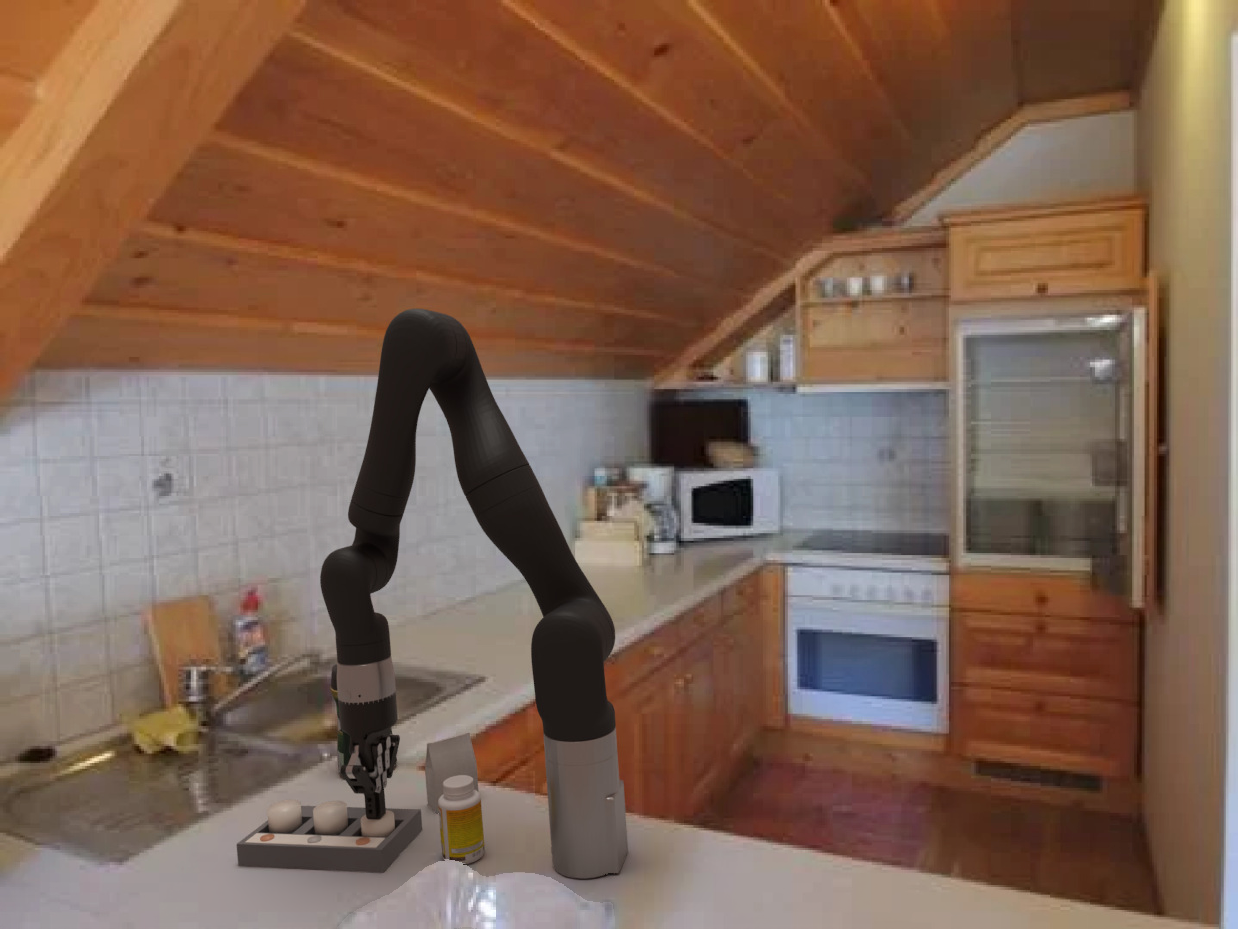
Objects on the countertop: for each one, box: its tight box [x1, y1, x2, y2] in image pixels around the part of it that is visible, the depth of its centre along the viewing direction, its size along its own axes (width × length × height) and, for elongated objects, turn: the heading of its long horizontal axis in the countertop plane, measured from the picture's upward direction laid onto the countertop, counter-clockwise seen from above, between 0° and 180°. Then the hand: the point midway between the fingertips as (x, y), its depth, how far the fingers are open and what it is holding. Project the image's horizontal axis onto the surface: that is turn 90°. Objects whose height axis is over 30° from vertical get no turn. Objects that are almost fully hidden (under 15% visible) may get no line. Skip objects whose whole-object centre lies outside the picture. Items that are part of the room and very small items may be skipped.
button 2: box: [361, 810, 395, 837], centre depth 123 cm, size 4×4×3 cm
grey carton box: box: [424, 732, 480, 815], centre depth 136 cm, size 4×7×10 cm, turn 124°
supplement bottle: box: [438, 775, 485, 865], centre depth 119 cm, size 6×6×10 cm
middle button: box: [313, 800, 348, 835], centre depth 124 cm, size 4×4×3 cm
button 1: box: [266, 799, 302, 834], centre depth 125 cm, size 4×4×3 cm
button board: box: [236, 805, 423, 873], centre depth 124 cm, size 21×12×3 cm, turn 78°
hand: (376, 817), depth 123 cm, fingers closed
